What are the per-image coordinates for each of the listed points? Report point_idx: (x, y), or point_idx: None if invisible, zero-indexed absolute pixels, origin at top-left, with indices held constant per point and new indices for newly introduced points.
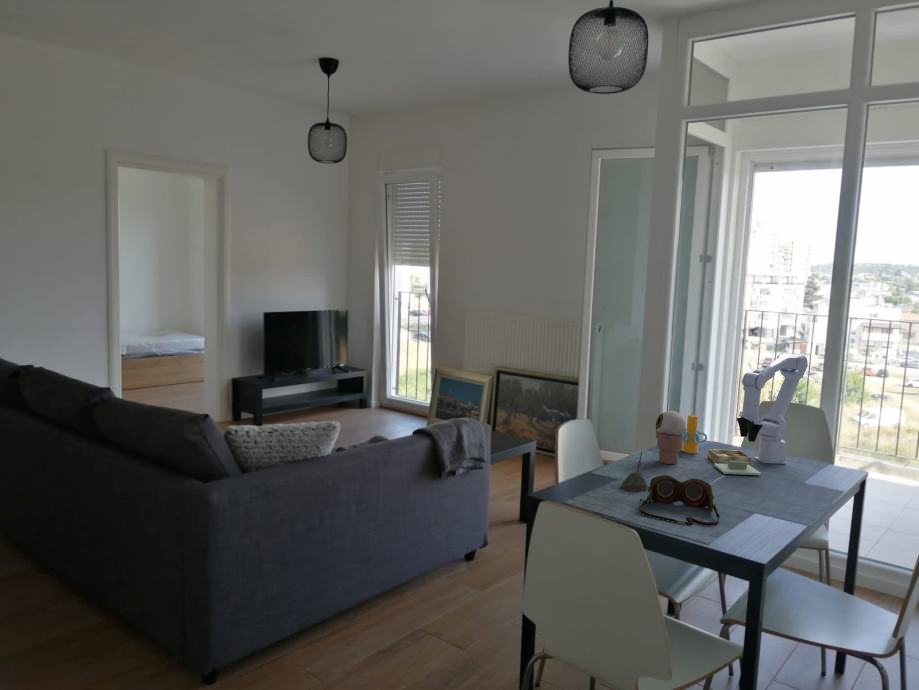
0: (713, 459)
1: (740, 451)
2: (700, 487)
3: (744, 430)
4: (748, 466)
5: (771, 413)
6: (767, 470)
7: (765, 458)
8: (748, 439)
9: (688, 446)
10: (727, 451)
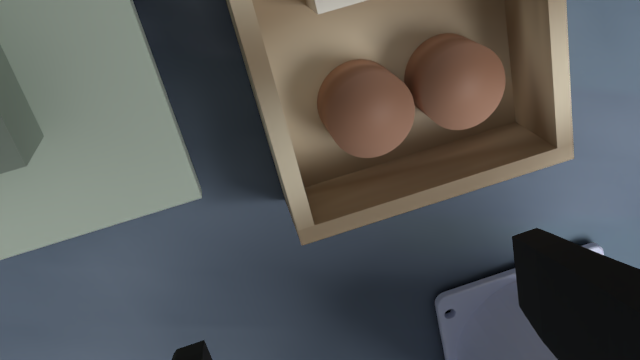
0: None
1: (546, 149)
2: None
3: (587, 342)
4: (130, 186)
5: None
6: (207, 325)
7: (477, 336)
8: (197, 355)
9: None
10: (540, 1)
